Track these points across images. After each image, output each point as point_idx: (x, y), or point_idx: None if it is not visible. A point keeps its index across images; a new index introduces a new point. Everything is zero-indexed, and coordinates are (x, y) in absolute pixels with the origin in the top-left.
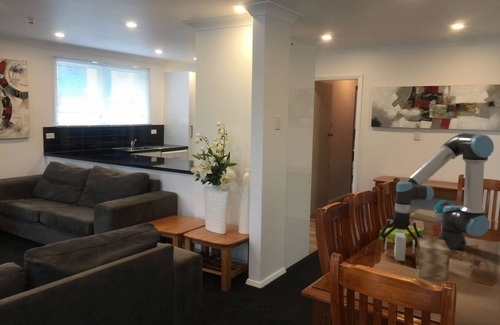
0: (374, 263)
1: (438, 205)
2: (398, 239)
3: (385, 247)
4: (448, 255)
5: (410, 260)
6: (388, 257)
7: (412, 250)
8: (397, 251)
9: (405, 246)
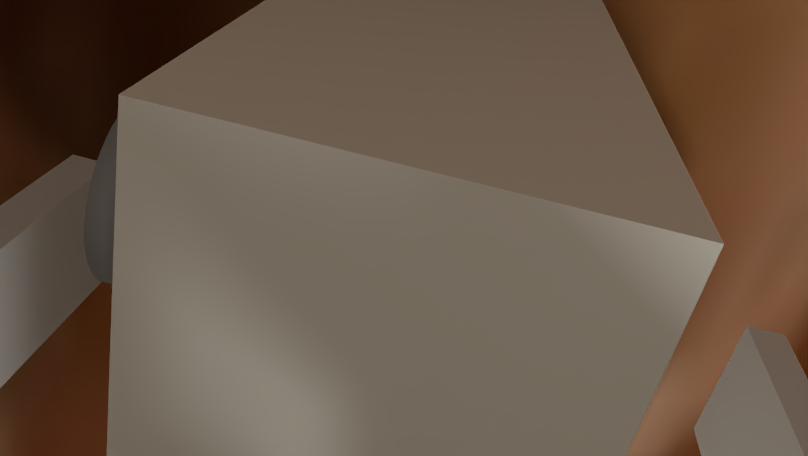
0: None
1: None
2: (609, 206)
3: (798, 381)
4: None
5: (220, 10)
6: (699, 151)
7: (77, 269)
8: (567, 28)
9: (265, 5)
